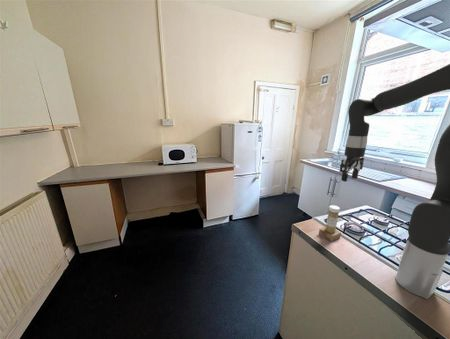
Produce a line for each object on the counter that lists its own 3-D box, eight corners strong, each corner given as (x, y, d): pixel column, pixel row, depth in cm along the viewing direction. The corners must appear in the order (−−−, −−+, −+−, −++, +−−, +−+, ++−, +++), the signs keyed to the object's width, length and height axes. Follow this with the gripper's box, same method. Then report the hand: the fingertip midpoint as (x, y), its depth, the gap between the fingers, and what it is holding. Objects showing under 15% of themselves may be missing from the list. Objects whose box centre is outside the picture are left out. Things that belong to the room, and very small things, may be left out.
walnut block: (340, 237, 91) (341, 232, 90) (331, 241, 88) (332, 236, 87) (327, 230, 97) (328, 225, 96) (318, 233, 94) (319, 228, 93)
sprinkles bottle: (327, 226, 94) (331, 203, 91) (336, 230, 91) (341, 207, 87) (323, 230, 92) (327, 206, 88) (333, 234, 88) (337, 210, 85)
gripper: (355, 148, 75) (348, 184, 79) (373, 145, 81) (366, 179, 85) (337, 146, 81) (332, 179, 85) (355, 144, 87) (349, 175, 92)
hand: (349, 179), depth 85 cm, fingers open, 8 cm apart
